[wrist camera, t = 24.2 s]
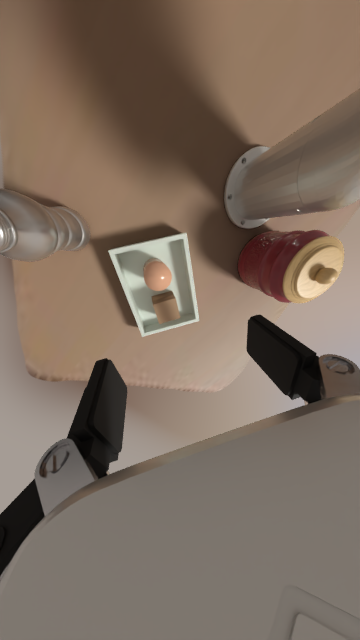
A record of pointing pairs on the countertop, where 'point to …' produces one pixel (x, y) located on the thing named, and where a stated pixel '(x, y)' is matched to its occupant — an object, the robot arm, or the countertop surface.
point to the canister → (291, 264)
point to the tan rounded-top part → (156, 274)
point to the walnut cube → (165, 307)
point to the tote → (140, 295)
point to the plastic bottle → (38, 228)
